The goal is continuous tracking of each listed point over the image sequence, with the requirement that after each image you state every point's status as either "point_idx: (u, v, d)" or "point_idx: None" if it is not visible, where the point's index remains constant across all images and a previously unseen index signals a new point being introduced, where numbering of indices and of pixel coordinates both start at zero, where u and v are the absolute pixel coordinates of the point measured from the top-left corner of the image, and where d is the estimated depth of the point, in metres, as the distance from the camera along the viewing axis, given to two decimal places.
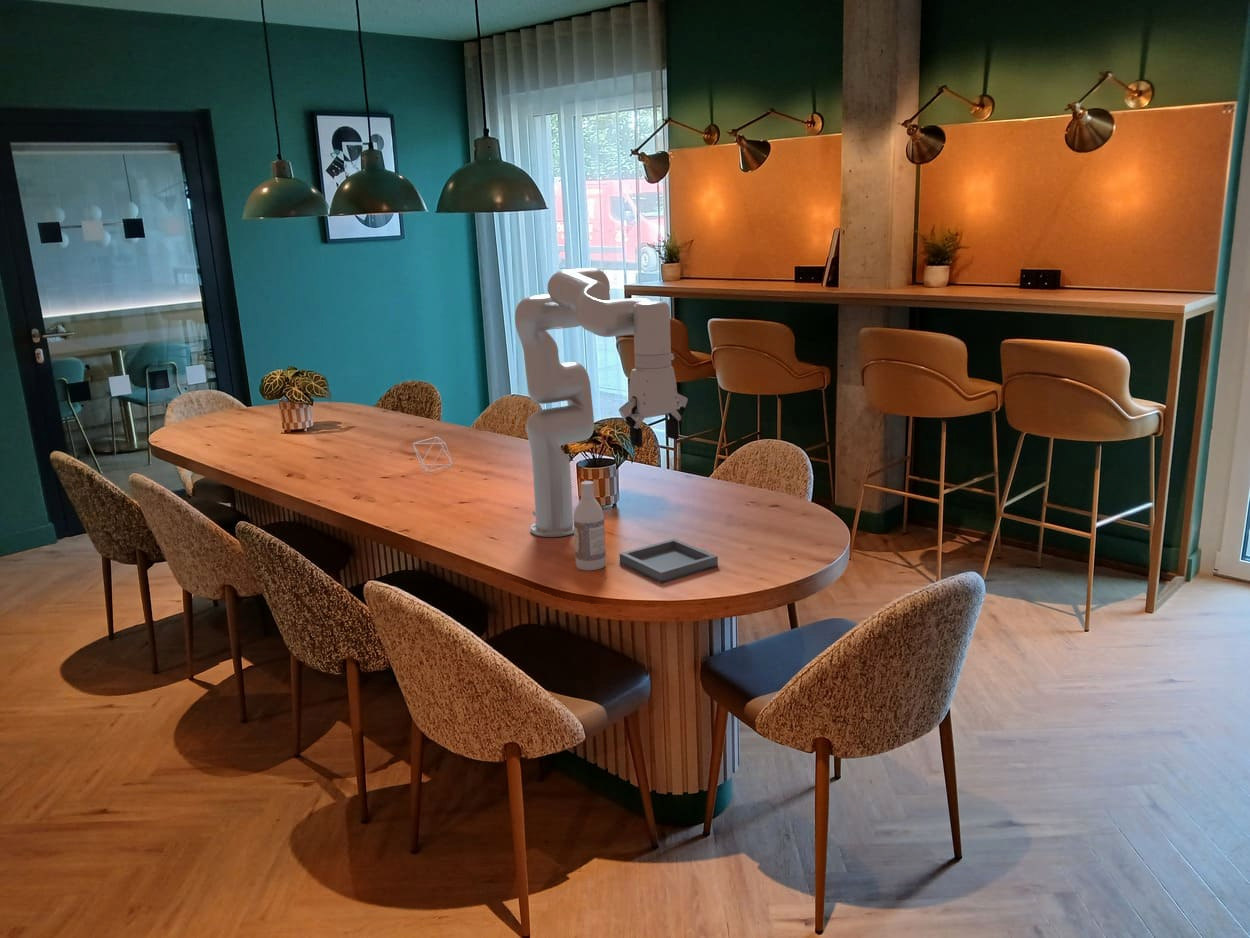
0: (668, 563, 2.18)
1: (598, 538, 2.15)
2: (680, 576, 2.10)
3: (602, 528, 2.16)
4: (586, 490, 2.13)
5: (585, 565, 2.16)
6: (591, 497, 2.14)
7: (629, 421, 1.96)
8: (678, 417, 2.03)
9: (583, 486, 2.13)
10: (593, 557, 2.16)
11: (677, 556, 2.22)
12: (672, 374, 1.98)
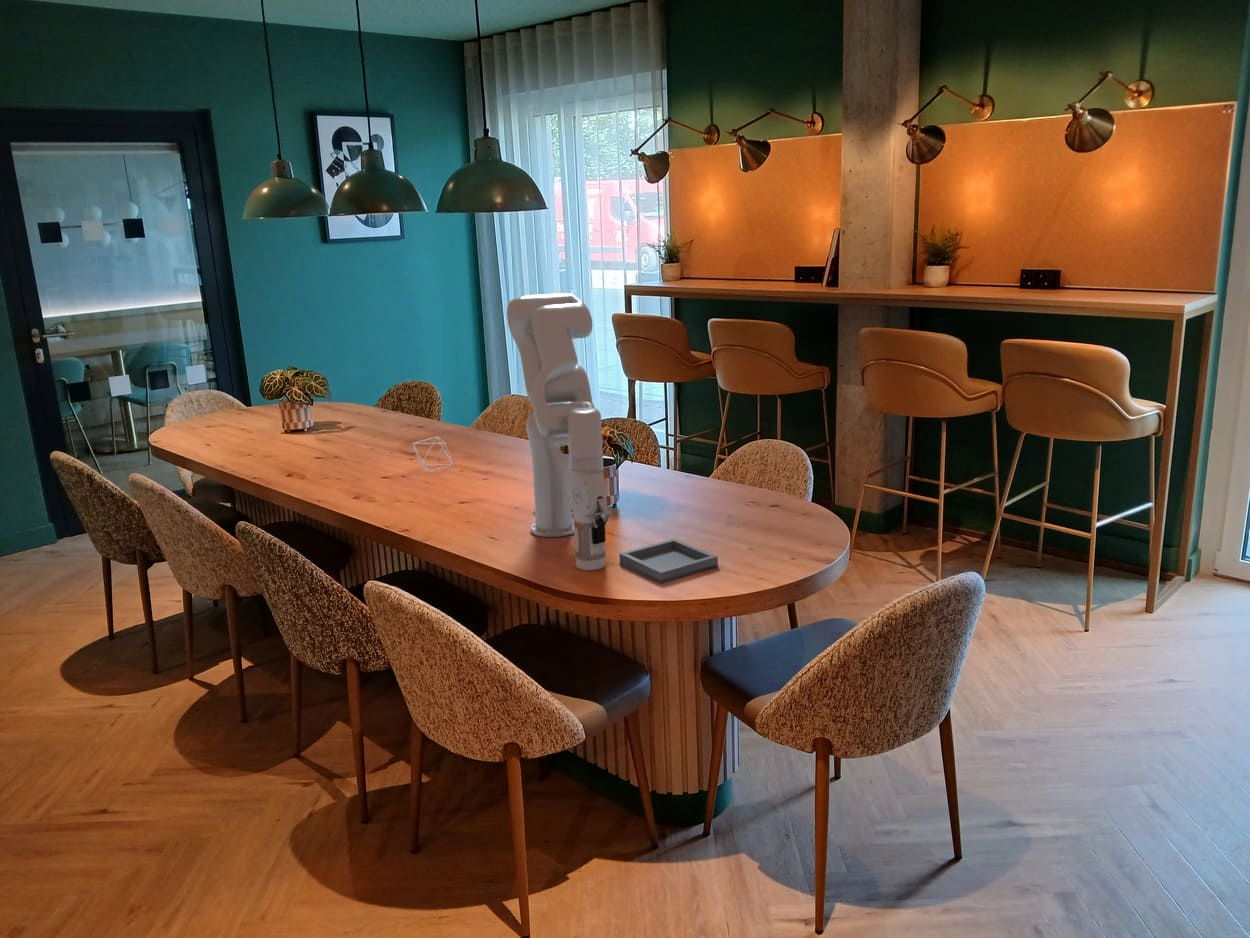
0: (668, 563, 2.18)
1: None
2: (680, 576, 2.10)
3: None
4: None
5: (585, 565, 2.16)
6: None
7: None
8: None
9: None
10: (593, 557, 2.16)
11: (677, 556, 2.22)
12: None
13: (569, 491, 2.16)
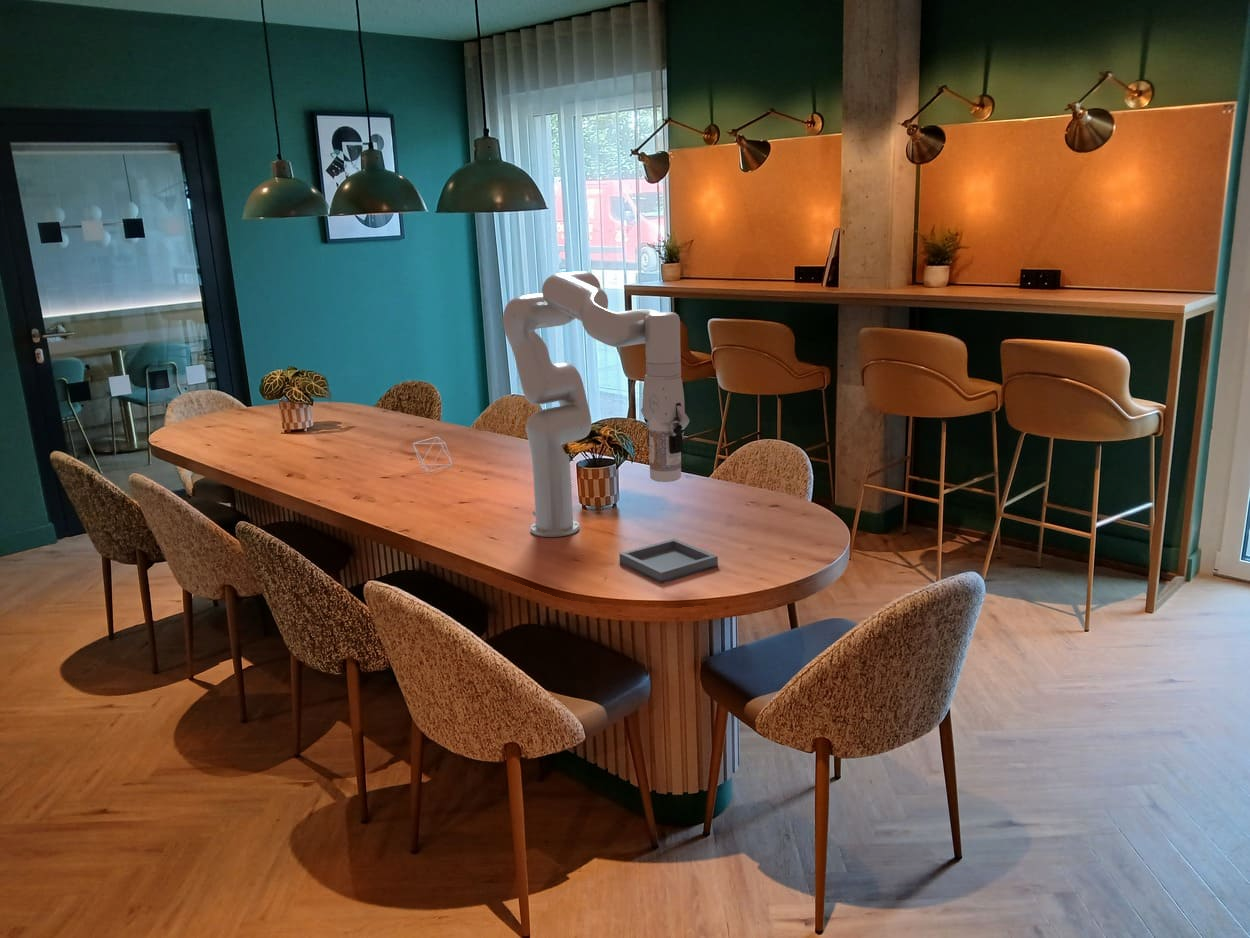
0: (668, 563, 2.18)
1: None
2: (680, 576, 2.10)
3: None
4: None
5: (661, 476, 2.10)
6: None
7: None
8: None
9: None
10: (670, 467, 2.09)
11: (677, 556, 2.22)
12: None
13: (645, 400, 2.10)
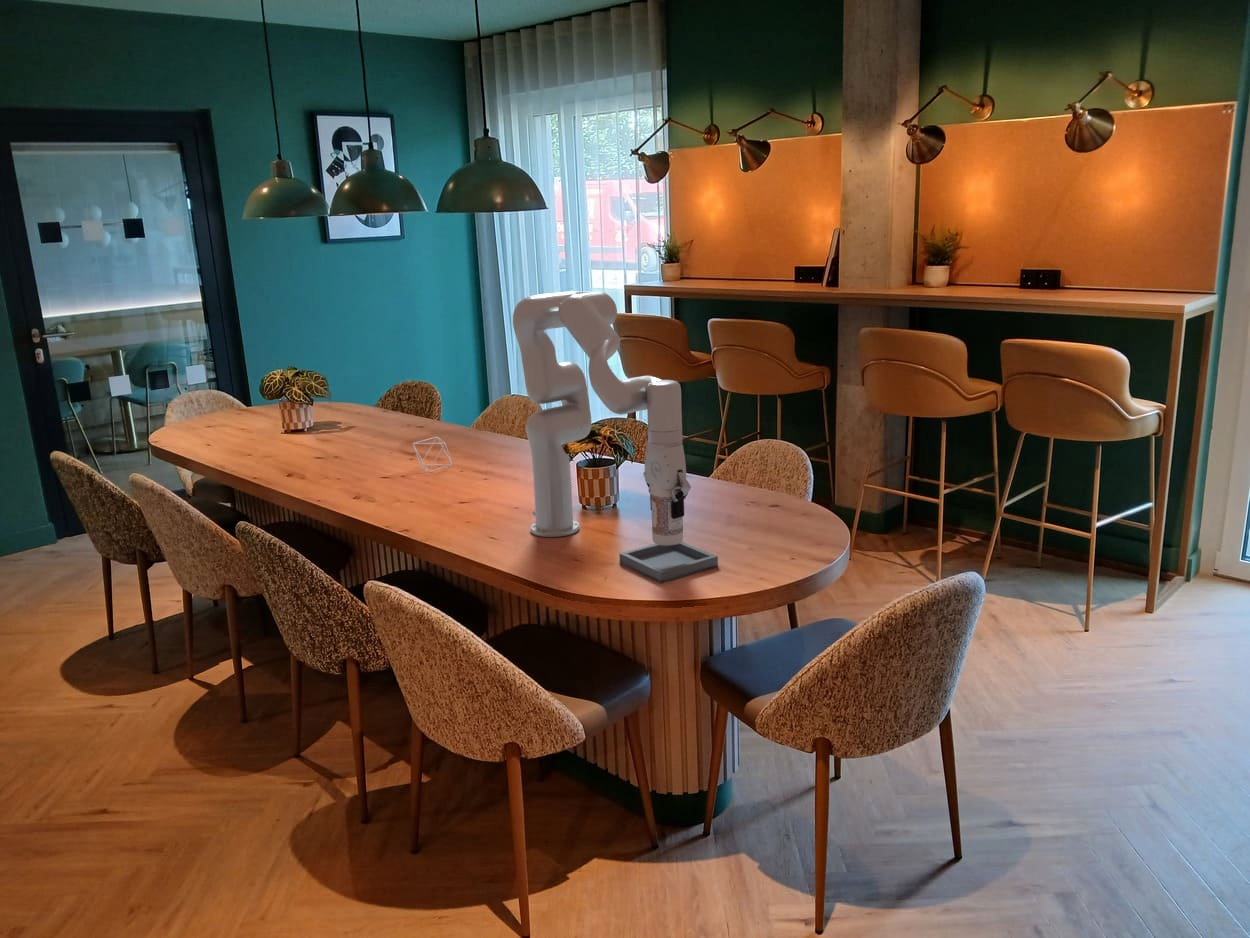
0: (668, 563, 2.18)
1: None
2: (680, 576, 2.10)
3: None
4: None
5: (663, 540, 2.13)
6: None
7: None
8: None
9: None
10: (672, 531, 2.13)
11: (677, 556, 2.22)
12: None
13: (647, 465, 2.14)
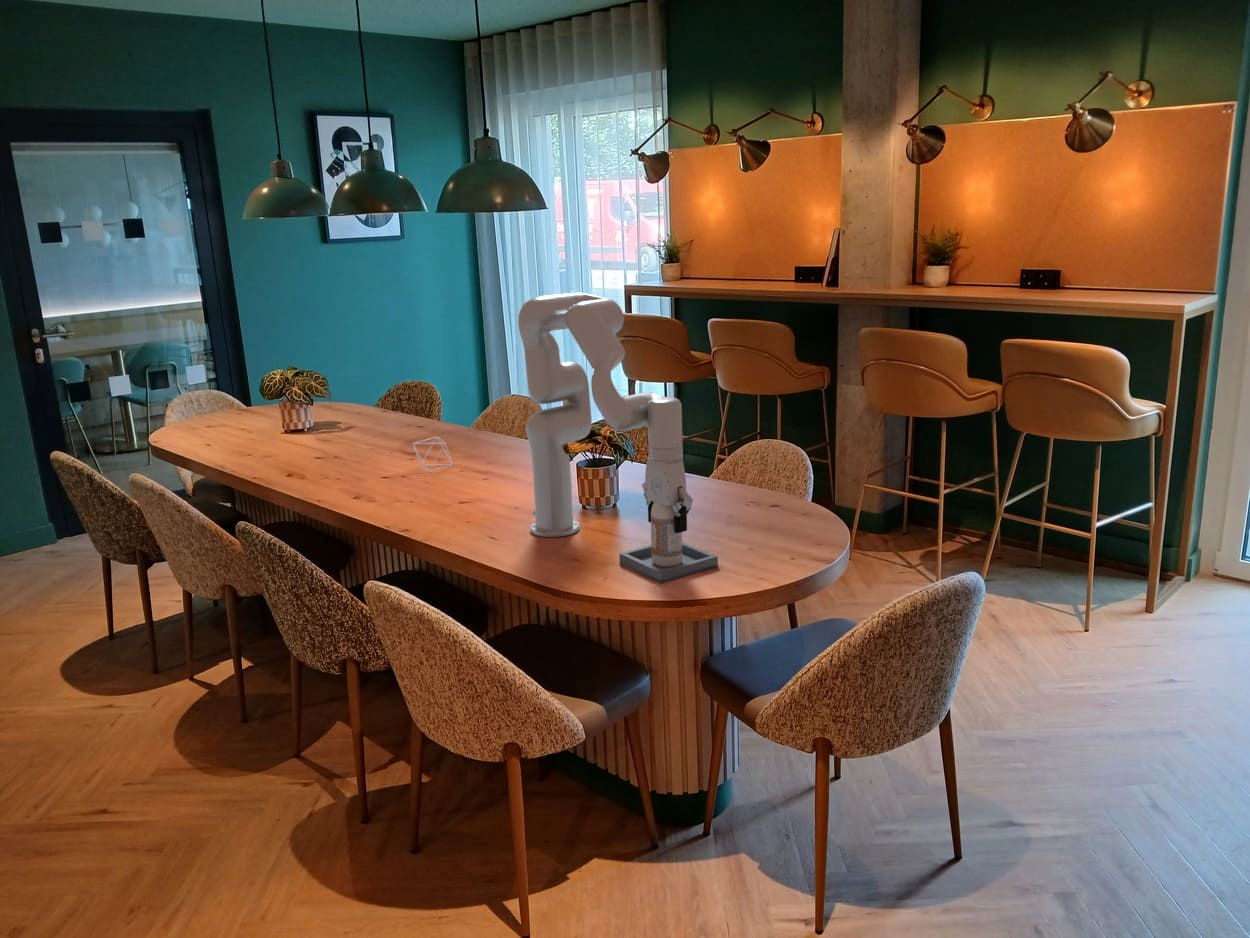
0: None
1: (676, 534, 2.14)
2: (680, 576, 2.10)
3: None
4: None
5: (663, 562, 2.15)
6: None
7: None
8: None
9: None
10: (671, 553, 2.14)
11: None
12: None
13: (647, 481, 2.15)
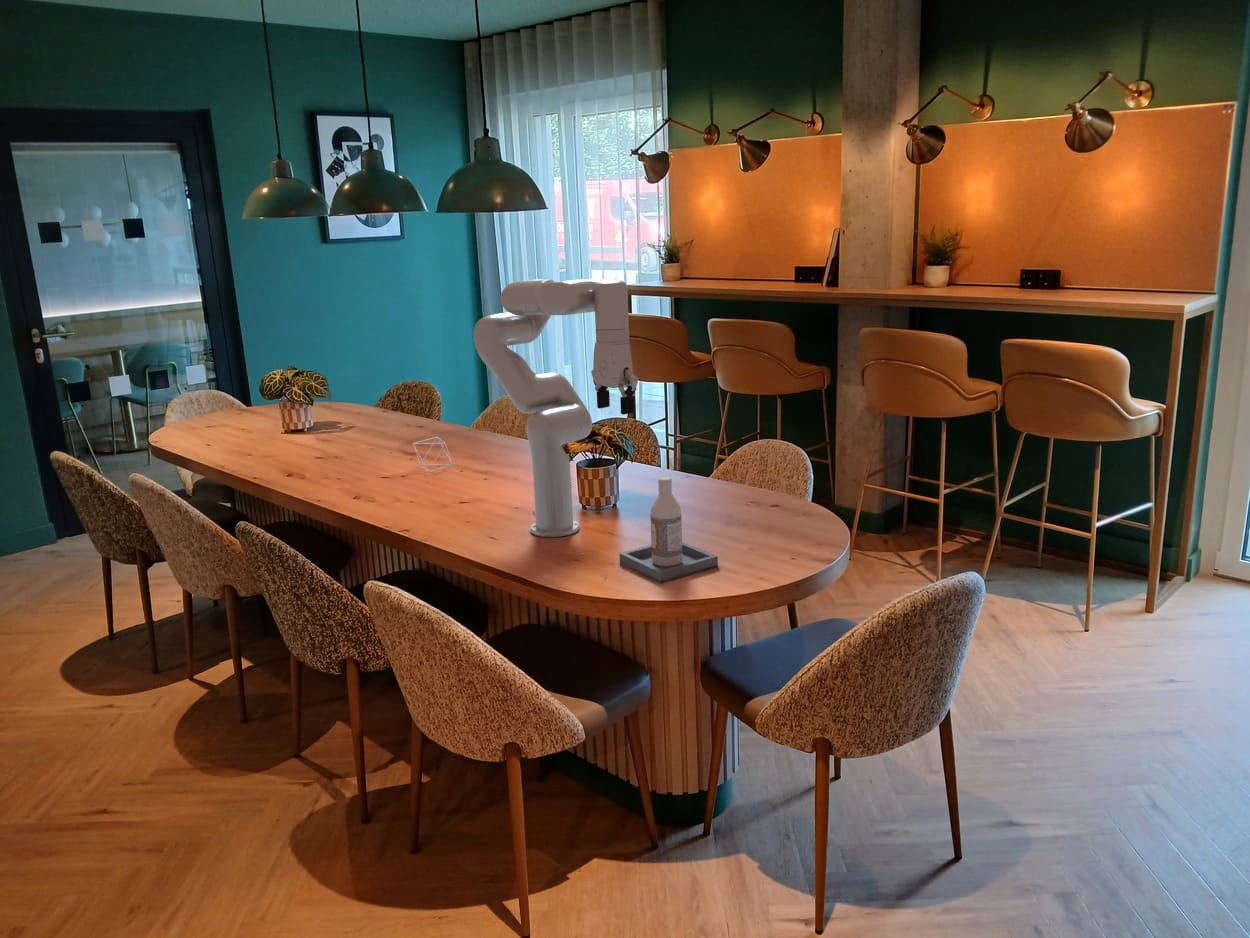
0: None
1: (675, 534, 2.14)
2: (680, 576, 2.10)
3: (679, 524, 2.14)
4: (664, 486, 2.12)
5: (662, 561, 2.15)
6: (669, 493, 2.13)
7: None
8: None
9: (661, 482, 2.12)
10: (671, 553, 2.14)
11: None
12: None
13: (595, 365, 2.19)
